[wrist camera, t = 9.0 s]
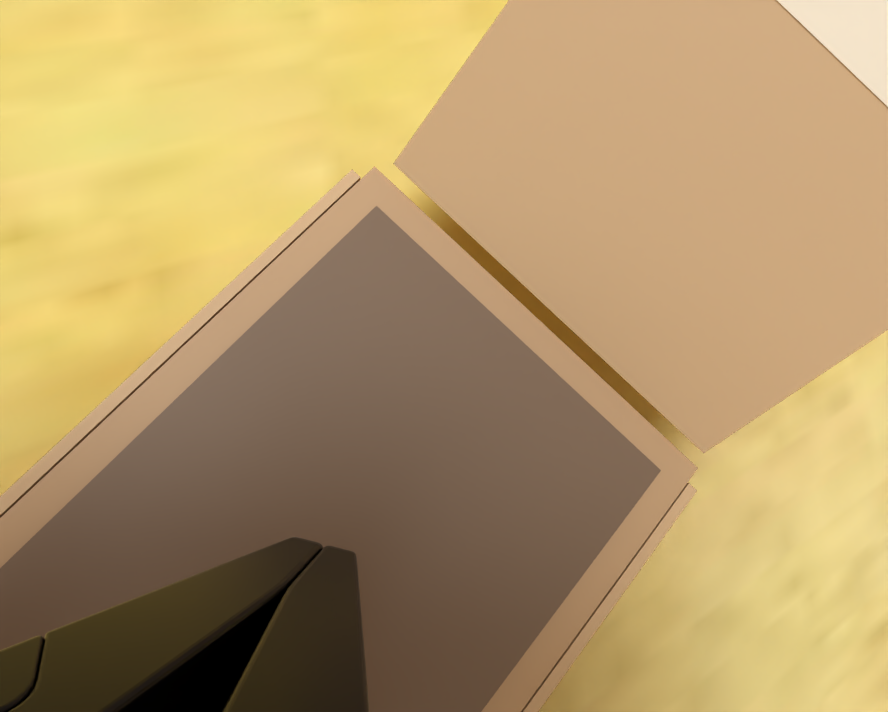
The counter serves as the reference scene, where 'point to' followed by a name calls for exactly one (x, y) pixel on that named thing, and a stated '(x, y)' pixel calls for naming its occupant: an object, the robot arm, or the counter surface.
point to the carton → (362, 462)
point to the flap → (680, 186)
